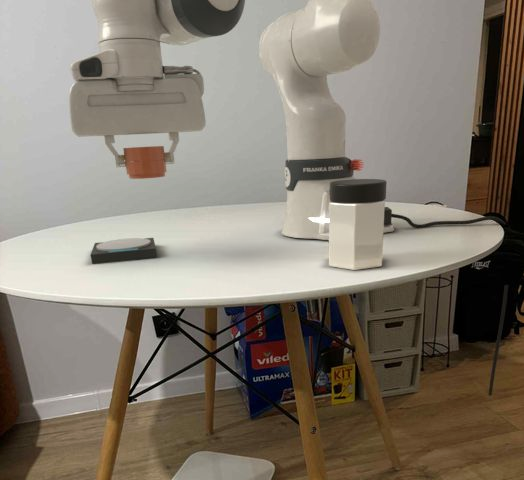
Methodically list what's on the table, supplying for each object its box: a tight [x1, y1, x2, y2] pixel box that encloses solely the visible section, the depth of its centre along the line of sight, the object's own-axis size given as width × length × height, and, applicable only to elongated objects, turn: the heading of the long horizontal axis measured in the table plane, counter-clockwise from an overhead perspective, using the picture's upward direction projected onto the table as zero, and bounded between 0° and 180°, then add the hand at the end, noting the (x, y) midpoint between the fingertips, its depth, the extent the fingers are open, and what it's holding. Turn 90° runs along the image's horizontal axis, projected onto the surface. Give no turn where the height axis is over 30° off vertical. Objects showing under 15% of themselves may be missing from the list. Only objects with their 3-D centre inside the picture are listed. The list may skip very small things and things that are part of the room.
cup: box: [122, 145, 167, 180], centre depth 80 cm, size 6×6×4 cm
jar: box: [328, 178, 388, 271], centre depth 75 cm, size 9×8×12 cm
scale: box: [90, 237, 158, 265], centre depth 91 cm, size 11×11×2 cm
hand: (145, 165), depth 80 cm, fingers closed on cup, 6 cm apart
